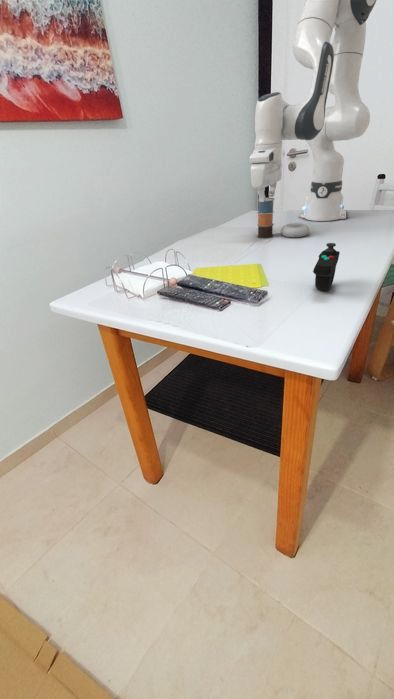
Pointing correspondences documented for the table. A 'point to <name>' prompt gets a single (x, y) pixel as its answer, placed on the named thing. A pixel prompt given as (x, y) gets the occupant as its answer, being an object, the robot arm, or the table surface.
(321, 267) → the controller
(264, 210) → the pod top
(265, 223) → the cylinder
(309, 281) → the table surface
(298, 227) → the donut
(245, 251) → the table surface
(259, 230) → the base
